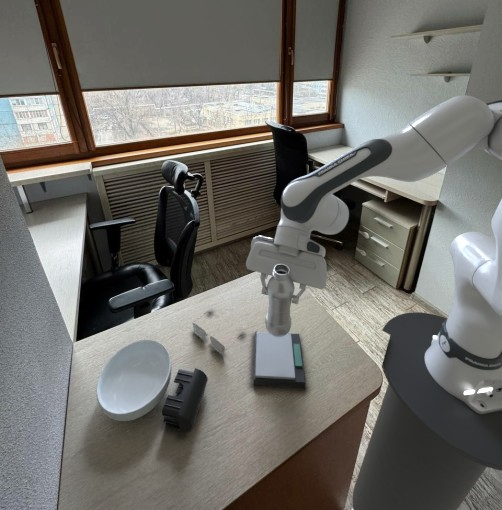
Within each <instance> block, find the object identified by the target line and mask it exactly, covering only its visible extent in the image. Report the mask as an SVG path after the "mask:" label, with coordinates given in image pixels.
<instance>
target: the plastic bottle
mask: <svg viewBox="0 0 502 510" xmlns="http://www.w3.org/2000/svg"><path fill="white" fill-rule="evenodd" d="M268 279H269V280H268V281H267V283H266V286H267V291H268V295H267V297H268V307H267V313H266V315H265V321H264V323H265V328H266V332H269V333H270V334H271V335H273V336H275V337H282V336H285V335H286V334H288V333H290V330H291V328H292V317H291V305H292V299H293V298H292V297H293V295H295V284H294V283H295V282H293V281H292V280H291V278H290V270H289V267H288V266H286V265H284V264H278V265H276V266H275V267H274V272H273V276H271V277H270V278H268Z"/></svg>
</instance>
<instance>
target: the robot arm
mask: <svg viewBox="0 0 502 510" xmlns="http://www.w3.org/2000/svg"><path fill="white" fill-rule="evenodd" d="M477 151H485V152H486V153H487V154H488V155H490V156H492V157H494V158H495V159H498V160H500V161H502V99H500V100H494V101H491V102H487V103H486V102H484V101H483V100H481V99H480V98H477V97H475V96H472V95H465V94H462V95H456V96H454V97H451V98H449V99H447V100H445V101H443V102H441V103H439V104H437V105H436V106H433V107H431V108H430V109H428V110H427V111H425V112H424V113H422V114H420V115H418V116H417V117H416V118H414V119H413V120H412V121H410V122H409V123H407V124H406V125H404V126H403V127H401V128H400V129H398V130H396V131H395V132H393V133H390V134H388V135H385V136H383V137H381V138H374V139H369V140H367V141H365V142H363V143H361V144H359V145H357V146H355V147H353V148H352V149H350V150H348V151H346V152H345V153H342V154H341V155H339V156H338V157H336V158H334V159H332V160H331V161H329V162H328V163H326V164H325V165H323V166H321V167H319V168H318V169H316V170H314V171H312V172H310V173H308V174H306V175H303V176H300V177H297V178H295V179H293V180H291V181H290V182H289V183H288V184H287V185H285V187H284V188H283V190H282V192H281V197H280V220H279V222H278V224H277V227H276V230H275V236H274V237H267V236H264V235H258V236H255V237H253V238H252V240H251V242H250V251H249V253H248V256H247V258H246V262H245V267H246V269H247V270H249V271H252V272H257V273H260V278H259V279H260V281H261V286H262V288H261V294H262V295H265V296H268V291H267V282H266V280H268V279H269V278H268V277H269V276H271V277H272V276H273V272H274V267H275V266H276V265H278V264H284V265H286V266H288V267H289V270H290V278H291V280H292V281H293V283H296V284H299V286H298V287H299V288H298V289H300V290H299V292H298V293H297V294H293V297H292V301H291V304H295V305H299V302H300V297H301V296H302V295H303V294H304V293H305V292H306V289H307V286H308V287H310V288H314V289H318V290H324V289H325V288H327V280H328V278H327V277H328V266H327V265H328V264H327V262H326V261H327V260H326V259H325V257H326V248H325V247H324V246H323V245H321V244H320V243H318V242H316V241H314V240H312V239H311V235H312V232H313V231H315V232H316V231H317V232H319V233H321V234H324V235H330V236H333V235H337V234H339V233H341V232H342V231H343V230H344V229H345V228H346V227H347V225H348V222H349V220H350V209H349V207H348V205H347V204H346V203H345V202H344V201H343V200H342V199H340V198H339V197H338V196H336V195H334V194H335V193H337V192H338V191H341V190H342V189H344V188H346V187H348V186H349V185H351V184H354V182H357V181H358V180H361V179H364V178H365V179H366V178H369V177H370V178H371V177H379V178H380V177H381V178H387V179H392V180H395V181H399V182H406V183H415V182H419V181H422V180H424V179H427V178H429V177H430V176H433V175H435V174H437V173H438V172H440V171H442V170H443V169H445V168H447V167H448V166H450V165H451V164H453V163H454V162H456V161H458V160H459V159H460V158H462V157H463V156H466V155H469V154H471V153H473V152H477ZM490 226H491V231H492V233H493V236H494V238H493V237H491V236H489V235H487V234H485V233H484V232H480V231H467V232H464V233H461V234H459V235H457V236H456V237H455V238H454V239H453V240H452V241H451V243H450V246H449V252H450V256H451V258H452V259H451V260H452V263H453V268H454V269H453V270H454V271H453V273H454V298H453V303H452V305H451V309H450V310H449V314H448V317H446V318H447V319H446V320H445V321H444V323H443V324H442V328H441V330H440V332H439V334H438V335H437V336H435V335H434V336H433V339H432V342H431V346H430V347H429V348H428V350H427V351H426V353H425V357H424V358H425V364H426V367H427V369H428V371H429V373H430V374H431V376H432V377H433V378H434V380H435V381H436V382H437V383H438V384H439V385H440V386H441V387H442V388H443V389H445V390H446V391H447V392H449V393H450V394H452V395H453V396H455V397H457V398H458V399H460V400H462V401H463V402H465V403H466V404H467V405H468V406H469V407H470V408H471V409H473V410H474V411H475V412H477V413H479V414H486V413H491V412H496V411H501V410H502V198H501V199H500V201H499V203H498V205H497V208H496V209H495V212H494V214H493V215H492V218H491V222H490ZM482 406H483V407H482Z"/></svg>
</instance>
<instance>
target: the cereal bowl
mask: <svg viewBox="0 0 502 510" xmlns="http://www.w3.org/2000/svg"><path fill="white" fill-rule="evenodd" d="M172 368H173V367H172V359H171V355H170V352H169V350H168V348H167V347H166V346H165V345H164V344H163V343H162V342H160V341H157V340H154V339H140V340H139V339H138V340H136V341H132V342H130V343H128V344H126V345H124V346H123V347H121V348H120V349H118V351H116V352H115V353H114V354H112V356H111V357H110V358H109V359H108V360H107V362H106V363H105V364H104V366H103V367H102V370H101V371H100V373H99V376H98V379H97V382H96V388H95V389H96V391H95V392H96V398H97V399H96V400H97V403H98V405H99V407H100V409H101V411H102V412H103V413H104V414H105V416H107V417H108V418H110V419H111V420H114V421H117V422H130V421H134V420H136V419H139V418H141V417H143V416H144V415H147V414H148V413H150V412H151V411H152V410H153V409H154V408H155V407H156V406H157V405H158V404H159V403H160V401H161V400H162V399H163V397H164V395H165V394H166V392H167V390H168V388H169V385H170V382H171V378H172V371H173V370H172Z"/></svg>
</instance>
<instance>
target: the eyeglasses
mask: <svg viewBox="0 0 502 510" xmlns="http://www.w3.org/2000/svg"><path fill="white" fill-rule="evenodd" d="M207 313H208V314H212V312H210V311H206V312H204V313H203V314H202V315H201V316H199V317H198V318H196V319H195V320H193V321H192V322H191V324H192V327H193V331H194V334H196V336H198V337H199V338H200V339H202V340H206V338H207V337H208V336H209V341H210V344H211V346H212V347H213V349H214V350H216V351H217V352H218V353H219V354H221V355H224V353H225V351H228V350H229V348H230V347H231V346H232V345H233V344H234V343H235V342H236V341H237V340H238V339H239V338H240V337H243V335H242V334H240V335H238V337H237V338H236V339H235V340H234V341H233V342H232V343H231V344H229V346H228V347H227V348H226V347H225V345H224V344H223V343H222V342H220V341H219V340H218V339H216V337H214V336H212V335H210V334H209V333H208V332H206V330H205V329H204V328H202V327H201V326H200V325H198V324H197V323H196V321H197V320H198V319H200V318H201V317H202V316H204V315H206V314H207Z"/></svg>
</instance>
